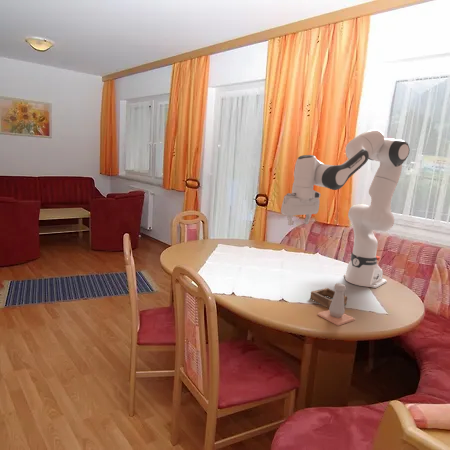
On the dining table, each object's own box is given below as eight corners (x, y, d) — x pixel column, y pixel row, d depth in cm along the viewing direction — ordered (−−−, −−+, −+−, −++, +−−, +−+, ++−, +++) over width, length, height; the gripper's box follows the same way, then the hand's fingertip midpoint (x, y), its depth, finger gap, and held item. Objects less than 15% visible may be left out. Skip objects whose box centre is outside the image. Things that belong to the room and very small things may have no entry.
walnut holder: (326, 295, 169) (327, 287, 168) (346, 304, 160) (347, 296, 160) (310, 299, 162) (311, 291, 162) (329, 308, 154) (331, 300, 153)
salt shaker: (332, 311, 150) (336, 280, 147) (345, 315, 147) (350, 284, 144) (325, 315, 146) (330, 283, 143) (339, 320, 142) (344, 288, 139)
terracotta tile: (333, 310, 153) (333, 308, 153) (354, 320, 145) (354, 318, 145) (317, 315, 147) (317, 313, 147) (338, 325, 139) (338, 323, 139)
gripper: (290, 194, 152) (286, 227, 155) (323, 194, 164) (319, 224, 167) (279, 192, 157) (276, 224, 160) (312, 191, 169) (308, 221, 172)
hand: (298, 224), depth 163 cm, fingers open, 8 cm apart
